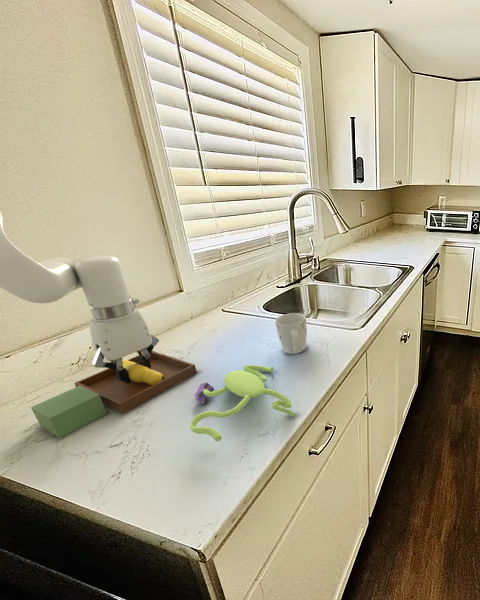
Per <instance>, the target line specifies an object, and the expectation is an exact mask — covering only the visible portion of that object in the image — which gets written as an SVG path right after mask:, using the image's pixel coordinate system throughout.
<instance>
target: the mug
mask: <svg viewBox="0 0 480 600" xmlns="http://www.w3.org/2000/svg"><path fill="white" fill-rule="evenodd" d="M274 322H275V328H276V332H277V336H278V339H279V341H280V344H281V346H282V349H283V352H284V353H286V354H289V355H295V354H300V353H302V352H303V351H305V349H306V347H307V336H308V334H307V332H308V331H307V330H308V329H307V328H308V327H307V317H306V315H305V314H303V313H301V312H300V313H299V312H290V313H285V314H282V315H280V316H278V317H276V319H275V321H274Z"/></svg>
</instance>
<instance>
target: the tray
mask: <svg viewBox="0 0 480 600" xmlns="http://www.w3.org/2000/svg"><path fill="white" fill-rule="evenodd" d="M138 357H139V355H138V354H137V355H136V356H133V357H131V358H129V359H127V360H128V361H131V362H134V363H137V364H139V363H138V360H137V359H138ZM149 361H150V364H151V368H150V369H152V370H154V371H157V372H160V373H161V374H162V375H163V376H164V377H165V378H164V380H162V381H160V382H158V383H156V384H154V385H150V384H148V383H145V382H144V383H136V382H134V381H131V382H130V383H128V384H127V383H125V382H122V381H119V380H118V378H117V375H116V373H115V370H114V369H110V368H105V369H102V370H101V371H99V372H96V373H94V374H92V375H88V376H87V377H85V378H83V379H80V380H78V381H76V382H74V386H75V388H76V387H78V386H81V387H84V388H86V389H88V390H90V391H92V392H94V393H97V394H99V396H100V398H101V400H102V403H103V405H105V406H107V407H109V408H111V409H113V410H115V411H117V412H120V413H122V414H126V413H127V412H129V411H131V410H133V409H134V408H136V407H138V406H140V405H142V404H144V403H146V402H147V401H149V400H151V399H153V398H155V397H156V396H158V395H160V394H162V393H164V392H165V391H167V390H169V389H171V388H173V387H174V386H176V385H178V384H180V383H182V382H184V381H185V380H187V379H189V378H191V377H192V376H194V375H196V374H198V371H197V367H196V364H195V363H191V362H188V361H185V360H182V359H179V358H176V357H173V356H170V355H166V354H163V353H161V352H157V351H155V350H152V352H151V353H150V358H149Z"/></svg>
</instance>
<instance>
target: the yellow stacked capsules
mask: <svg viewBox="0 0 480 600" xmlns="http://www.w3.org/2000/svg"><path fill="white" fill-rule="evenodd" d="M128 360H129V359H125V358H124V359H123V358H122V361H123V367H124V368H126V369H127V372H128V374H129V378H130V380H131V381H134V382H136V383H144V382H145V383H148V384H150V385H154V384H156V383H158V382H160V381H162V380H164V378H165V377H164V376H163V375H162V374H161V373H160V372H157V371H154V370H152V369H149V368H148V367H145V366H142V365H140V364H137V363H134V362H131V361H128Z"/></svg>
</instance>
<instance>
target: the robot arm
mask: <svg viewBox="0 0 480 600" xmlns="http://www.w3.org/2000/svg"><path fill="white" fill-rule="evenodd" d="M3 216H4V215H3V213H2V211H0V288H1V289H2V290H4V291H6V292H8V293H9V294H11V295H13V296H15V297H16V298H19V299H21V300H24V301H26V302H30V303H33V304H49V303H54V302H57V301H59V300H61V299H62V298H64V297H66V296H67V295H68V294H70V293H71V292H74V291H76V290H78V289H81V288H82V291H83V293H84V296H85V298H86V299H85V300H86V302H87V304H88V307H89V310H90V312H91V315H92V318H91V319H90V320H89V331H90V332H89V333H90V338H91V341H92V346H93V349H94V352H95V355H94V356H93V357H94V358H93V360H92V362H91V366H92V367H94V368H98V369H99V368H102V369H108V368H110V369H114V370H115V373H116V375H117V378H118V380H119V381H122V382H125V383H127V384H128V383H130V382H131V380H130V378H129V374H128V372H127V369H126V368H124V367H123V361H122V359H123V358H125V357H127V356H129V355H131V354H134V353H136V354H137V356H138V355H139V357H138V359H137V360H138V363H139V364H140V365H142V366H145V367H148V368H149V369H150V368H151V364H150V361H149V358H150V353H151V352H152V351H154V348H155V347H156V346H157V345H158V343H159V342H160V339H159V338H158V337H157V336H154V335H153V334H151V332H150V329H149V327H148V324H147V322H146V321H145V318H144V317H143V315H142V314H141V312H140V310H139V309H138V308H136V305H137V304H140V300H139V298H138V297H135V298H133V297H132V296H131V292H130V289H129V286H128V282H127V279H126V276H125V272H124V270H123V266H122V264H121V261H120V260H119V258H118V257H116V256H113V255H105V254H104V255H94V256H88V257H71V256H70V257H66V256H58V257H50V258H47V259H45V260H43V261H39V262H38V261H36V260H35V259H33V258H32V257H30V256H29V255H27V254H26V253H24V252H23V251H22V250H21V249H20V248H19V247H17V246H16V245H15V244H14V243H13V242H12V241H11V240H10V239H9V238H8V236H7V235H6V233H5V230H4V222H3V221H4V218H3ZM104 360H106V361H104Z"/></svg>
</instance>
